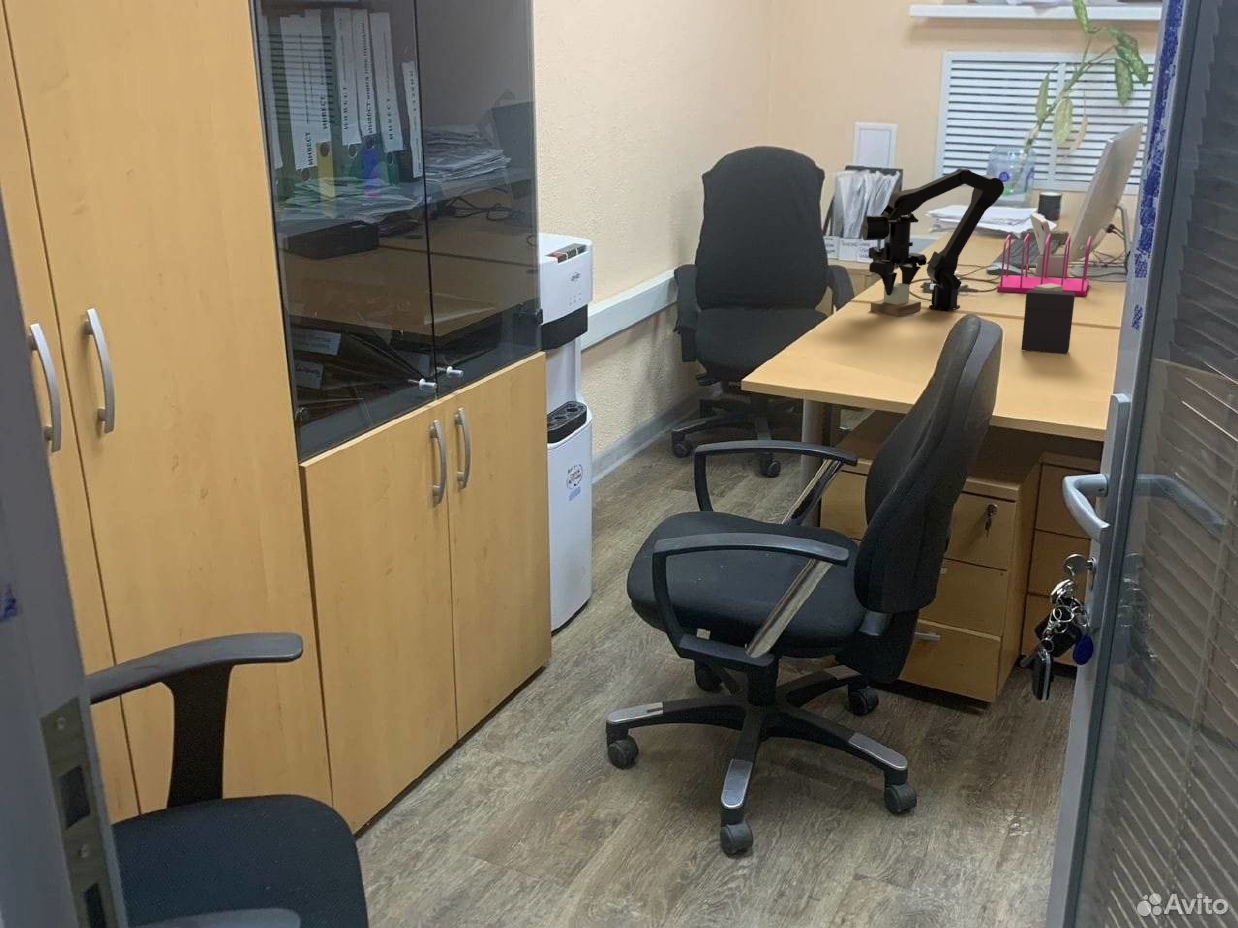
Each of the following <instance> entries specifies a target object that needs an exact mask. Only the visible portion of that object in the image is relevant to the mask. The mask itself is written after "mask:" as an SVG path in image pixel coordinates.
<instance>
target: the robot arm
mask: <svg viewBox="0 0 1238 928" xmlns="http://www.w3.org/2000/svg"><path fill="white" fill-rule="evenodd" d="M963 185H966V186H969V187H971V188H973V190H972V192H971V197H970V198H971V200H970V203H969V205H968V207H967V209H966V210H965V212H964V214H963V215H962V218H961V219H960V220H959V223H958V224H957V226H956V228H955V229H954V231H953V233H952V234H951V236H950V238H949V240H948V241H947V243H946V245H945V247H944V248H943V249H942V250H941V251H940V252H937V251H933V253H932V255H931V257H930V258H929V259H930V260H929V261H927V256H926V255H925V254H922V253H916V252H910V247H913V246H914V242H913V241H911V225H912V224H913V223H919V219H918V218H916V216H915V215H914V213H913V212H915V211H916V210H918V209H919V208H920V207H921V206H922V205H923V204H924V203H926V202H927V201H930V200H932V199H935V198H937V197H939V196H941V195H943V194H946V193H947V192H950V191H951V190H954V189H956V188H958V187H961V186H963ZM1004 190H1005V186H1004V182H1003V181H1002V179H1000V178H998V177H995V176H992V175H988V174H985V175H980V174H979V173H976V172H973V171H972V170H970V169H968V168H965V167H959V168H957V169H956V170H954V171H952V172H950V173H948V174H945V175H944V176H941V177H939V178H936V179H934V180H932V181H931V182H930V181H929V182H928V183H926V184H923V185H921V186H918V187H915V188H910V189H904V190H900V191H896V192H894V193H892V195H891V196H890V197H889V199H888V204H887V205H886V206H885V208H884V209H883V210H882V212H881V213H880V215H869V214H867V215H864V220H863V222H862V226H861V237H862V239H863V241H878V240H880V241H882V240H885V239H887V237H888V241H886V242H885V243H884V247H881V248H878V246H877V245H875V246H871V247H869V248H868V256H867V257H868V259H870V260H872V261H871V262H870V264H869V266H868V267H869V268H868V269H869V270H868V271H869V272H871V273H874V274H877V275H878V276H879V277H880V278H881V280H882V283H883V286H884V287H885V290H886V294H887V295H889V296H890V295H891V293H892V290H893V286H894V283H895V282H896V279H897V276H898V272H896V271H895V268H898V267H899V269H900V271H901V283H903V284H909V285H910V286H911V283H912V282H913V280H914V278H915V276H916V275H917V273H918V272H919V270H921V268H922V267H923V266H926V265H927V267H926V273H927V276H928V278H930V279H931V280H932V284H933V289H932V290H931V301H930V302H931V303H930V305H928V308H930V309H931V308H932V309H936V310H941V311H950V310H954V309H958V308H961V304H958V298H959V297H958V296H959V295H958V294H959V290H960V288H961V285H962V281H961V280H960V279H959V278H958V277H957V276H956V275H955V273H956V270H957V268H958V263H959V257H960V255H961V253H962V251H963V250H964V248H965V247H966V244H968V243H967V242H968V241H969V240H970V238H971V237H972V235H973V233H974V231H975V229H976V227H977V226H978V224H979V222H980V221H981V220H982V217H983V216H984V214H985V212H986V211H987V210H988V209H989V208H991V207H992V206H993V205H994V204H995V203H996V202H997V201H998V200H999V198H1000V197H1001V196H1002V194H1003V193H1004ZM884 287H883V288H884Z"/></svg>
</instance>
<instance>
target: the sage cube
mask: <svg viewBox="0 0 1238 928" xmlns="http://www.w3.org/2000/svg"><path fill="white" fill-rule="evenodd" d="M910 286H911V284H910V285H909V284H903V283H902V282H898V281H895V283H894V286H893V290H892V293H891V295H890V296H889V295H887V294H886V290H885V287H883V299H884V302H886V303H891V304H896V305H899V304H903V303H906V302H909V300H910Z"/></svg>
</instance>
